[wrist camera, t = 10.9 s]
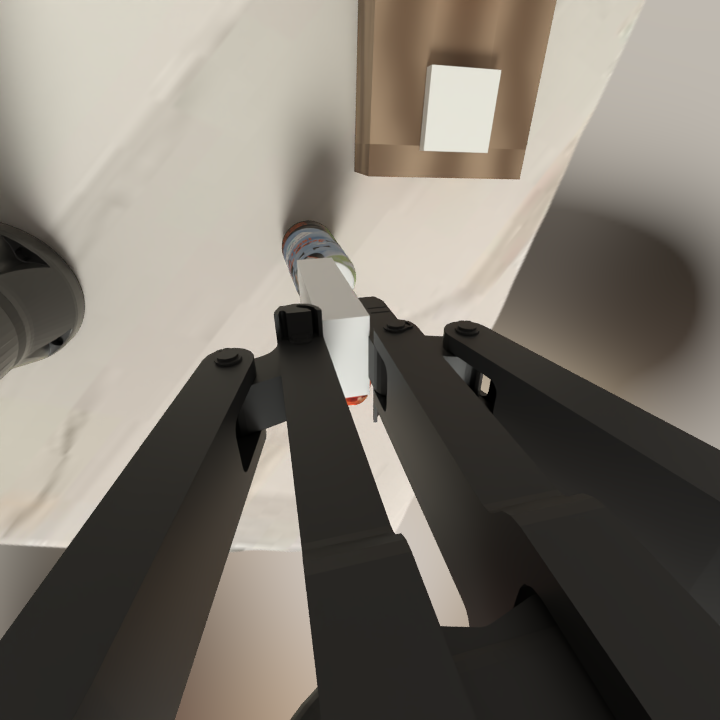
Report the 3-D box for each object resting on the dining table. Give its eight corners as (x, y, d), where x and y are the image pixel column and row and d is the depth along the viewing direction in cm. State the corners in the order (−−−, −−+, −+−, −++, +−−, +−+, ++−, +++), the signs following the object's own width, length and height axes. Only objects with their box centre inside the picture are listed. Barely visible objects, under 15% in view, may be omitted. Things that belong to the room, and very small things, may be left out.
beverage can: (303, 206, 44) (314, 226, 34) (351, 249, 47) (374, 278, 37) (269, 250, 46) (270, 281, 35) (318, 288, 49) (331, 327, 39)
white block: (398, 149, 43) (423, 150, 36) (403, 77, 40) (432, 64, 33) (453, 151, 44) (487, 153, 37) (462, 82, 41) (501, 70, 34)
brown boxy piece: (354, 171, 43) (368, 176, 37) (361, -138, 32) (382, -201, 26) (486, 174, 46) (519, 179, 40) (534, -107, 35) (588, -157, 29)
